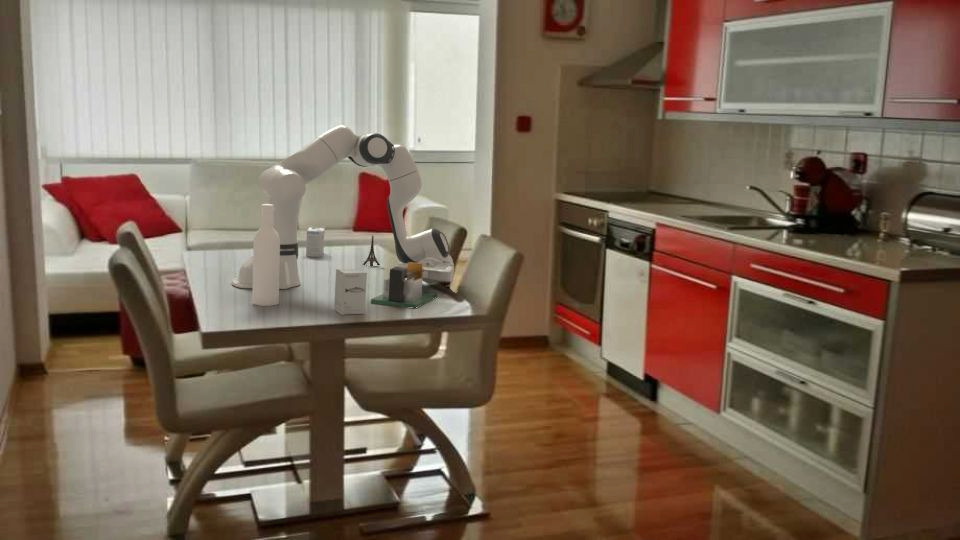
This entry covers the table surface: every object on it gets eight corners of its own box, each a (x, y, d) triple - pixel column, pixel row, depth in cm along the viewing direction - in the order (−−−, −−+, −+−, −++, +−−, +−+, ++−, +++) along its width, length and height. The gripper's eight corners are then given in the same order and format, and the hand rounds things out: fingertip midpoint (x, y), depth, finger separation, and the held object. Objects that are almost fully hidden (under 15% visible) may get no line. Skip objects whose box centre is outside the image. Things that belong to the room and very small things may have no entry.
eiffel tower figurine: (385, 270, 333) (387, 236, 331) (359, 269, 332) (360, 235, 330) (385, 264, 348) (386, 231, 346) (360, 263, 347) (361, 230, 345)
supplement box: (341, 315, 251) (343, 272, 249) (333, 310, 257) (335, 268, 255) (365, 314, 254) (367, 272, 252) (357, 309, 261) (359, 268, 259)
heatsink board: (395, 291, 290) (396, 259, 289) (437, 296, 286) (439, 263, 285) (370, 302, 270) (372, 267, 269) (415, 308, 267) (417, 272, 265)
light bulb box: (307, 252, 363) (308, 226, 361) (324, 253, 363) (324, 227, 362) (305, 256, 352) (306, 230, 350) (322, 257, 353) (323, 230, 351)
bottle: (254, 306, 255) (256, 205, 250) (249, 301, 262) (251, 202, 257) (281, 305, 258) (283, 206, 253) (276, 300, 265) (278, 203, 260)
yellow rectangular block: (407, 285, 287) (408, 261, 286) (421, 287, 286) (423, 263, 284) (395, 291, 276) (396, 266, 275) (410, 292, 275) (411, 268, 274)
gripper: (402, 257, 303) (388, 263, 289) (458, 264, 297) (445, 269, 284) (402, 275, 304) (387, 281, 290) (457, 281, 298) (444, 288, 285)
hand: (416, 275), depth 287 cm, fingers closed
